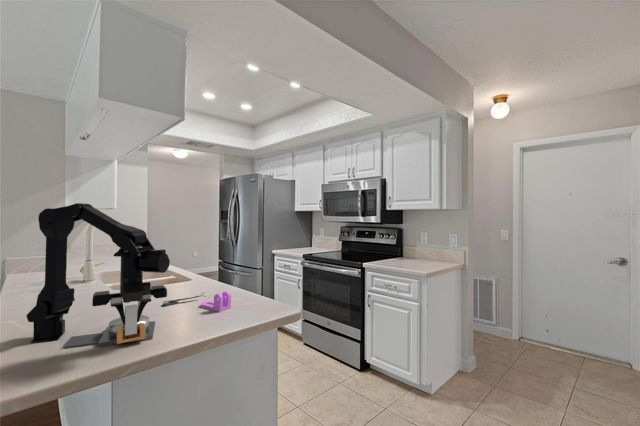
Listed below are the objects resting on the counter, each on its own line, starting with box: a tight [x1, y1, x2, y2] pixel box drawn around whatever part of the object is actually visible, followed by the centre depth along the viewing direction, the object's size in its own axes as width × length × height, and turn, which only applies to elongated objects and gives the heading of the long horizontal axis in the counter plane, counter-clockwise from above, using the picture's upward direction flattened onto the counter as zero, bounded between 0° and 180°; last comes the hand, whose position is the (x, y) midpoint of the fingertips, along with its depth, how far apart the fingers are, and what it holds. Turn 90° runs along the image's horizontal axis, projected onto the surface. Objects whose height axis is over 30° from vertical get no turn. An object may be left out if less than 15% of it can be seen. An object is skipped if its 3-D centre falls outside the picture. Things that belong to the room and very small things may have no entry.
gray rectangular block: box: [124, 303, 138, 336], centre depth 93 cm, size 3×3×8 cm
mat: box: [62, 332, 104, 350], centre depth 93 cm, size 8×8×1 cm
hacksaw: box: [160, 292, 210, 308], centre depth 139 cm, size 24×10×2 cm, turn 135°
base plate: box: [97, 320, 156, 347], centre depth 99 cm, size 14×14×1 cm
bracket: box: [200, 290, 232, 313], centre depth 128 cm, size 13×6×7 cm, turn 60°
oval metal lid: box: [108, 314, 150, 345], centre depth 97 cm, size 16×11×4 cm
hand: (130, 323), depth 93 cm, fingers closed on gray rectangular block, 3 cm apart
